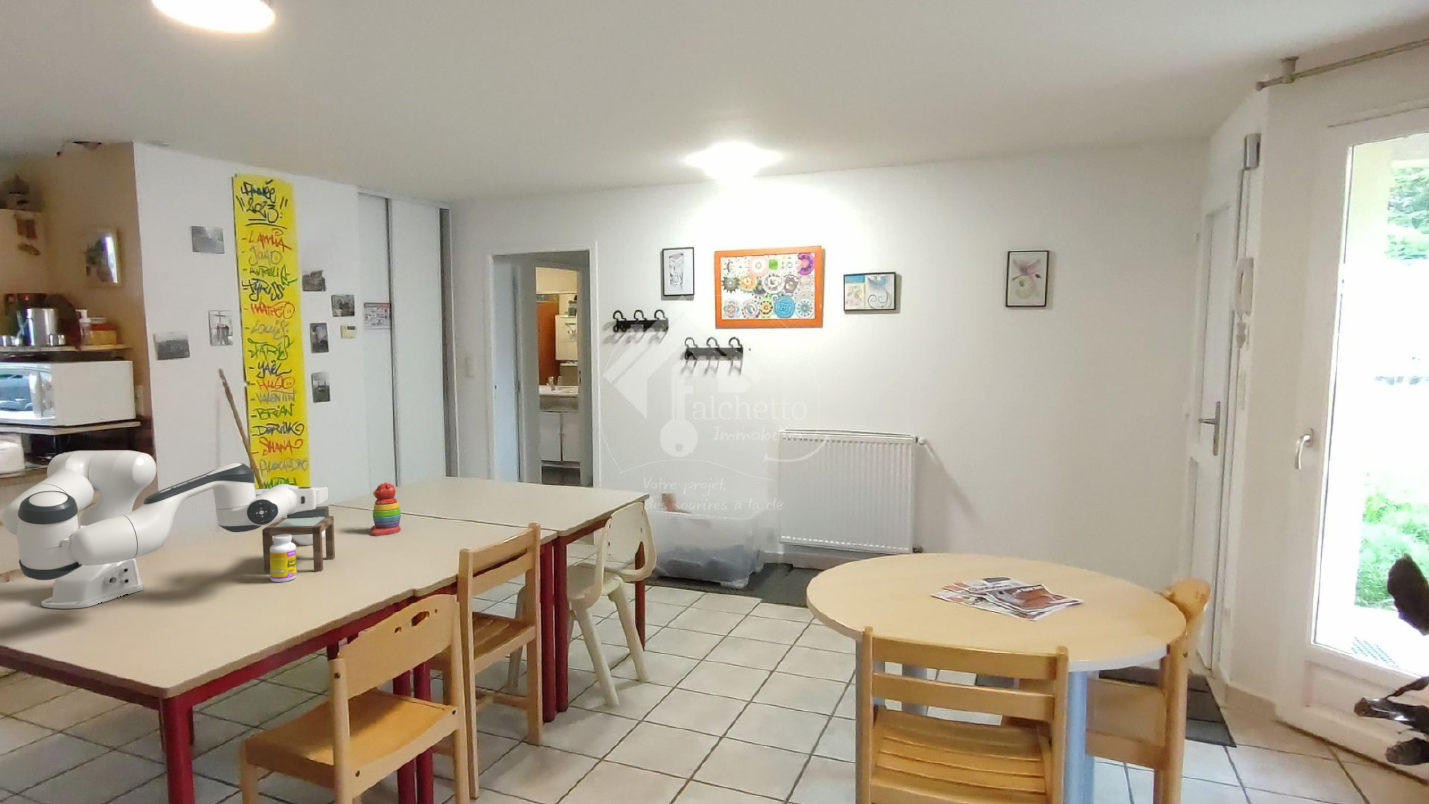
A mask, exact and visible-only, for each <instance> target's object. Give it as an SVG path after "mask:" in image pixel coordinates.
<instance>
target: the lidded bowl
mask: <svg viewBox="0 0 1429 804" xmlns="http://www.w3.org/2000/svg"><path fill="white" fill-rule="evenodd" d="M329 516H331V515H330V514H329ZM325 539H326V538H325V530H324V531H323V532H322V541H323V540H325ZM292 540H293V541H294V542H296V543H297V545H299V546H313V534H307V535H292Z"/></svg>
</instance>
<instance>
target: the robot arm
mask: <svg viewBox="0 0 1429 804" xmlns="http://www.w3.org/2000/svg"><path fill="white" fill-rule="evenodd" d="M156 474H157V463H156V461H155V459H154V458H153V457H152V456H151V455H150V454H148V453H146V452H140V451H136V450H130V449H129V450H128V449H127V450H126V449H125V450H122V449H121V450H120V449H119V450H118V449H117V450H116V449H115V450H114V449H113V450H111V449H110V450H107V449H106V450H73V451H68V452H63V453H59V454H57V455H55V456H54V457H53V458H52V459H51V460H50V461H49V464H48V466H47V470H46V475H47V477H46V478H45V479H44V480H42V481H40V482H38V483H37V484H35V485H33V486H31V487H30V488H28V489H26V490H25V491H23V492H22V493H21V494H19V495H18V496H16V498H14V499H13V500H12V501H11V502H10V503H9V504H8V505H7V506H6V507H4V509H3V511H2V513H1V524H2V525H3V527H4V529H5V530H6V531H7V532H9V533H10V534H12V535H14V536H16V540H17V548H18V555H19V560H18V563H19V568H20V569H21V572H22V573H23V575H24V576H25V577H27V578H30V579H33V580H36V581H50V580H54V583H53V585H52V596H50V597H48V598H45V599H43V600H41V604H40V605H41V606H42V607H45V608H50V609H81V608H89V607H91V606H92V607H93V606H95V605H98V603H99V604H101V602H102V603H106V602H109V601H112V600H115V599H118V598H121V597H124V596H123V595H125V594H128V595H130V594H133V593H137V592H139V591H143V590H144V586H143V584H144V582H143V581H142V578H141V576H140V573H139V567H138V563H137V559H136V558H139V557H143V556H145V555H149V554H152V553H155V552H156V551H157V550H159V549H160V548H162V546H163V545H164V544H165V543H166V541H167V540H168V538H169V536H170V534H171V532H172V527H173V523H174V520H175V515H176V512H177V511H178V509H179V507H180V505H182V502H184V501H185V500H187V499H189V498H191V497H194V496H196V495H199V494H202V493H204V492H207V491H210V490H212V491H213V498H214V503H215V504H214V505H215V512H216V518H217V519H216V520H217V524H218V526H219V527H221V528H222V529H223V530H226V531H228V532H230V533H243V532H250V531H254V530H257V529H260V528H261V527H262V526H269V525H270V524H272V523H275V522H277V521H279V520H281V519H282V518H286V517H287V515H288V514H293V513H296V512H301V511H308V510H313V509H315V508H316V507H318V506H320V505H322V504H323V503H325V502H326V501H327V500H328V499H329V488H328V487H327V486H315V487H314V486H297V485H291V484H288V483H279V484H277V485H276V484H275V485H274V486H273V487H271V488H257V489H256V487H255V486H256V485H255V483H256V482H255V481H256V480H255V470H254V469H252V468H251V467H250V466H248V465H247V464H245V463H243V462H233V463H227V464H225V465H222V466H220V467H217V468H216V469H213V470H211V471H208V472H206V473H203V474H202V475H198V476H195V477H193V478H190V479H187V480H185V481H181V482H179V483H176V484H174V485H171V486H169V487H165V488H164V489H162V490H158V491H155V492H154V493H152V494H150V495H149V496H146V497H145V499H144V501H143V503H142V504H141V505H139V507H137V508H136V509H135V510H133V508H134V504H135V501H136V499H137V497H138V496H139V495H140V493H141V492H142V491H143V490H144V489H145V488H147V487H148V486H149V485H151V483H152V482H153V481H154V479H155V478H156V476H157V475H156ZM96 492H98V493H99V494H98V498H97V501H96V503H94V504H92V501H93V498H94V493H96ZM90 504H92V505H90ZM85 508H86V509H85ZM81 511H83V512H82V513H81V515H80V518H79V519H78V513H80V512H81ZM79 521H80V522H79ZM79 523H80V528H79ZM120 596H121V597H120ZM125 596H126V595H125ZM117 597H118V598H117Z"/></svg>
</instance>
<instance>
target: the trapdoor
mask: <svg viewBox="0 0 1429 804" xmlns="http://www.w3.org/2000/svg"><path fill="white" fill-rule="evenodd" d="M329 509H330V508H329V506H327V505H326V506H316V508H315V509H313V510H308V511H301V512H296V513H293V514H288V515H287V516H286V517H285V518H286V519H285V520H284V521H282V522H281V523H279V524H278V525H277V526H275V527H274V528H279V527H303V526H315V525H316V524H318V523H319V522H320V521H321V520H323V519H324V518H325V517H326V516H329V515H330V513H329V511H330V510H329Z"/></svg>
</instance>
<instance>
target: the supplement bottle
mask: <svg viewBox="0 0 1429 804" xmlns="http://www.w3.org/2000/svg"><path fill="white" fill-rule="evenodd" d="M272 537H273V545H272V546H271V547H270V574H269V575H270V581H272V582H274V583H284V582H285V583H286V582H289V581H293V580H295V579H296V578H297V575H298V574H297V573H298V572H297V570H298V569H297V568H298V567H297V545H296V543H294V542H292V540H293V538H292V535H291V534H280V535H276V536H272Z"/></svg>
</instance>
